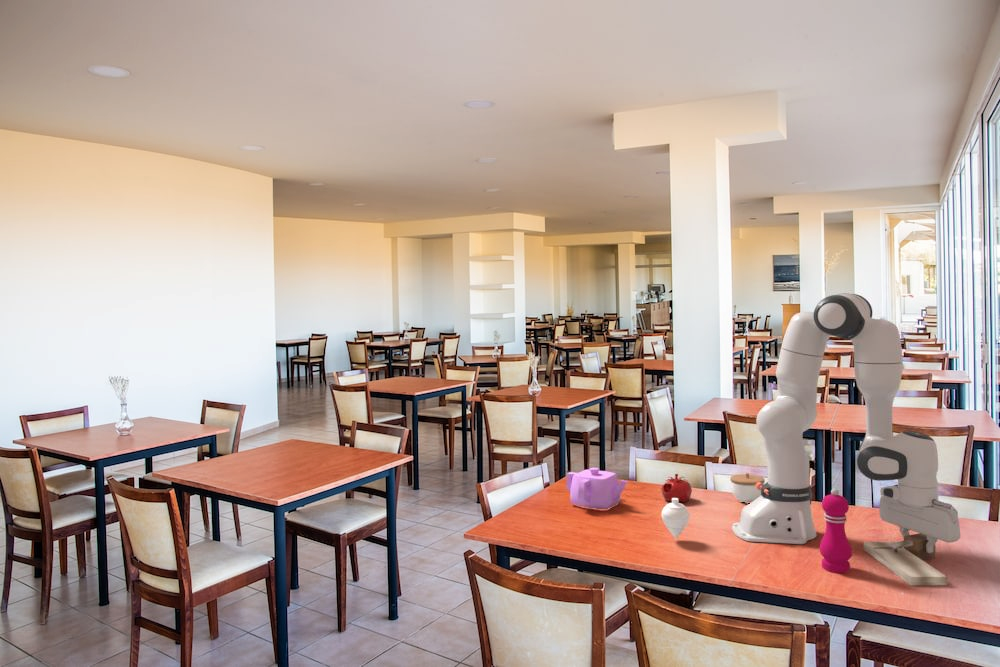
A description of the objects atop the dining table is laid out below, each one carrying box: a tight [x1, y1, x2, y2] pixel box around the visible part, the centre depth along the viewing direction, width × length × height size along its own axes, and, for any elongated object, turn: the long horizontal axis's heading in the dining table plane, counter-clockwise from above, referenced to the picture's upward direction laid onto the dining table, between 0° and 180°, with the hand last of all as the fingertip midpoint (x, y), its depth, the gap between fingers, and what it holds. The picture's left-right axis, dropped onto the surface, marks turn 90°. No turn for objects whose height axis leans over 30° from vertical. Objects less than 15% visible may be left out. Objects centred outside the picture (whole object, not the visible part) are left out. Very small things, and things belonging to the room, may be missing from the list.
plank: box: [863, 541, 948, 586], centre depth 168 cm, size 8×23×2 cm, turn 177°
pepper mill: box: [819, 488, 853, 574], centre depth 168 cm, size 7×7×20 cm
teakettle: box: [566, 467, 628, 509], centre depth 228 cm, size 17×17×12 cm
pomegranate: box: [661, 473, 693, 503], centre depth 229 cm, size 10×10×9 cm
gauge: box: [891, 533, 936, 561], centre depth 173 cm, size 12×4×5 cm, turn 109°
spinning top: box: [661, 498, 691, 541], centre depth 191 cm, size 8×8×12 cm
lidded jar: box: [729, 472, 766, 502], centre depth 226 cm, size 11×11×9 cm
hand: (918, 548), depth 174 cm, fingers open, 4 cm apart
